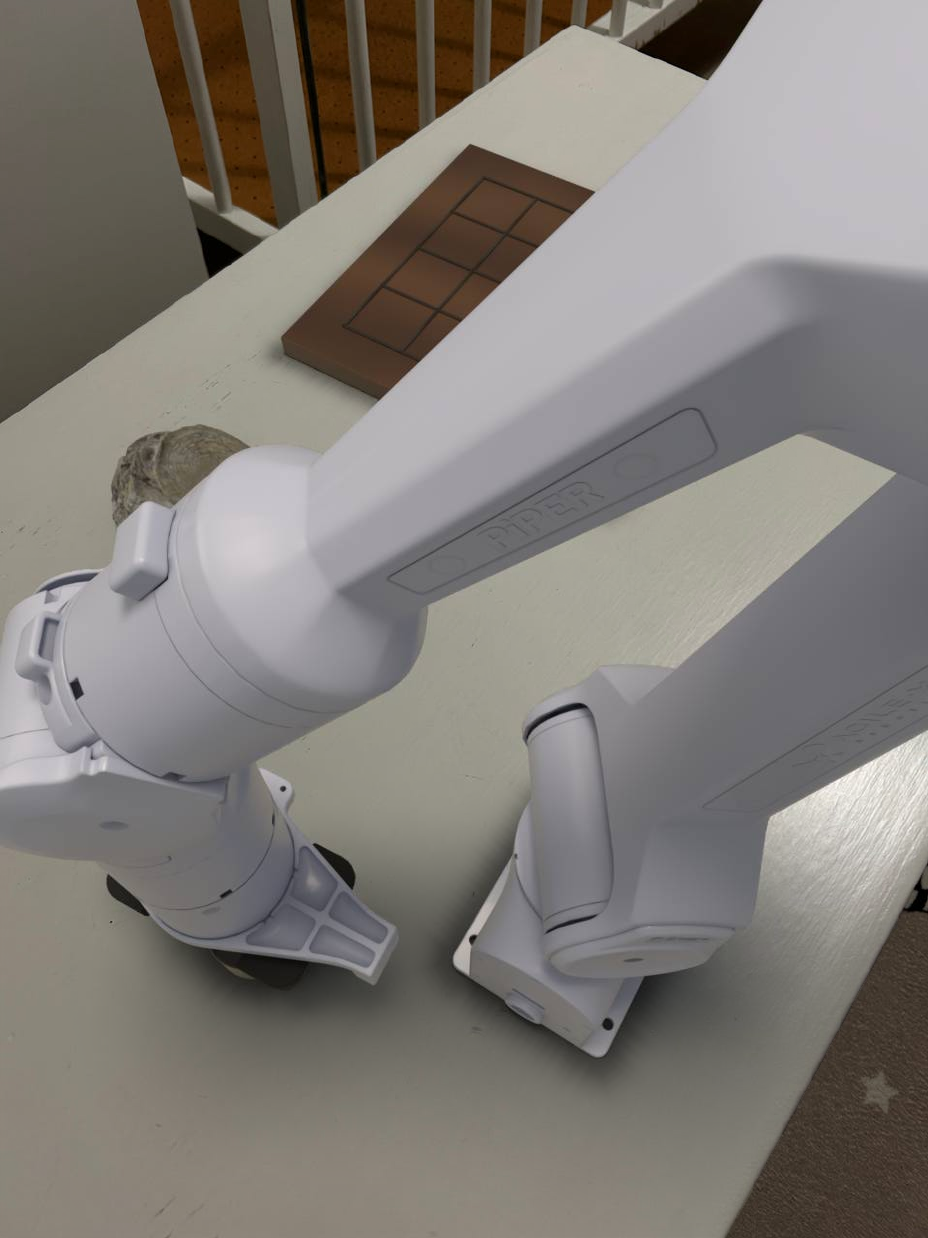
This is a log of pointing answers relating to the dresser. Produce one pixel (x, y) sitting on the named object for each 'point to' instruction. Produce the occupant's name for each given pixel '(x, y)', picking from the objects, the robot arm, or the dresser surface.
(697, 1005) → the dresser surface
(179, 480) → the fossilized seashell
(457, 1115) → the dresser surface
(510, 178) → the board
